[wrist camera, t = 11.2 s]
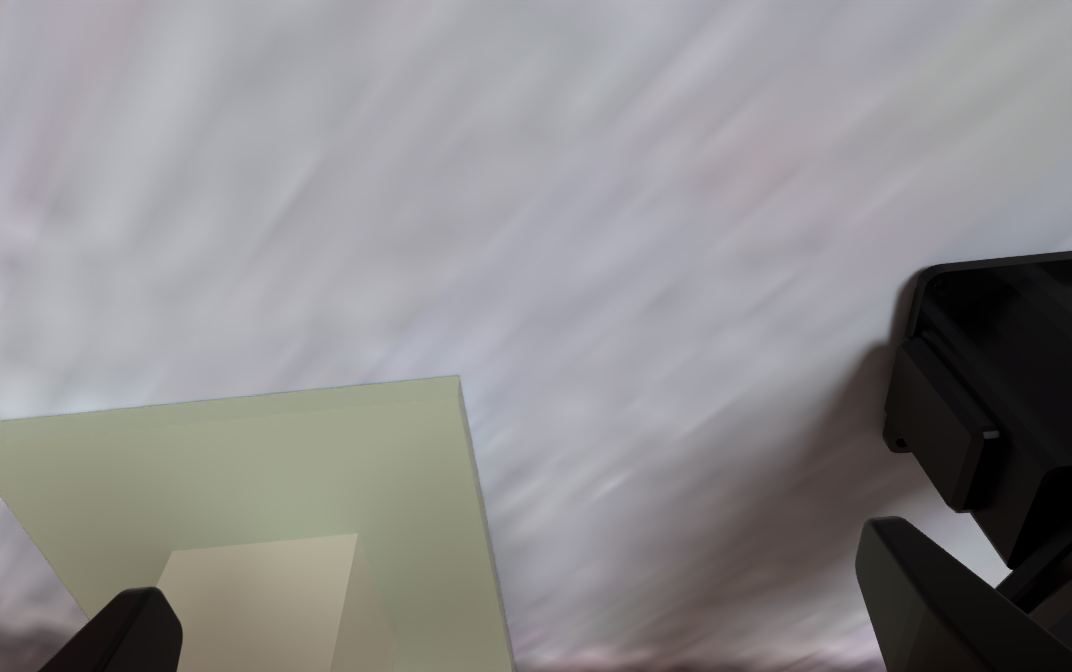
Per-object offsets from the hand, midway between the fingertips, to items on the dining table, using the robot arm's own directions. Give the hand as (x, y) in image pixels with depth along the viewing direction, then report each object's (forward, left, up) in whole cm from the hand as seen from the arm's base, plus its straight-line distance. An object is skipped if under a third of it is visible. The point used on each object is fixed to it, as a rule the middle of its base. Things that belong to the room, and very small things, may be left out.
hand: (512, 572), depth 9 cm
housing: (+9, +13, -10) cm, 19 cm away
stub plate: (+9, +13, -11) cm, 19 cm away
